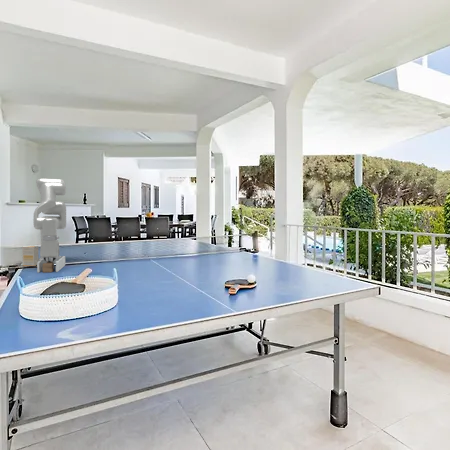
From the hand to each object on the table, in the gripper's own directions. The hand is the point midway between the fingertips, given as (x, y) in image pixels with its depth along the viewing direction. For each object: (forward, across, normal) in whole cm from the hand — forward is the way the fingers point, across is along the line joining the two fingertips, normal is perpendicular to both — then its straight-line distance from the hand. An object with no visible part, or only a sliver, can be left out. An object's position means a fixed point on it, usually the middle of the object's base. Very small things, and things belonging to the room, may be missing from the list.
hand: (49, 268), depth 210 cm
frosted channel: (+1, 0, -6) cm, 6 cm away
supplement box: (+2, +15, -17) cm, 23 cm away
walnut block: (+1, 0, +4) cm, 4 cm away
